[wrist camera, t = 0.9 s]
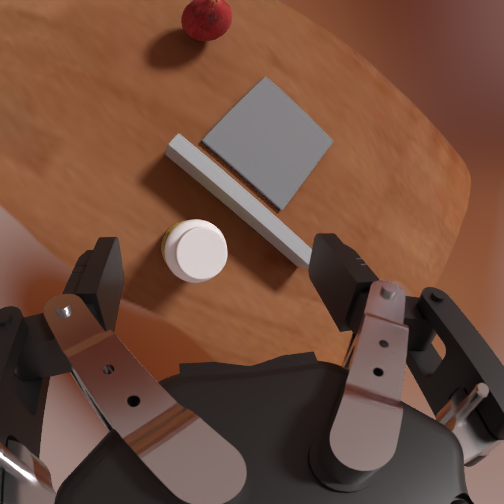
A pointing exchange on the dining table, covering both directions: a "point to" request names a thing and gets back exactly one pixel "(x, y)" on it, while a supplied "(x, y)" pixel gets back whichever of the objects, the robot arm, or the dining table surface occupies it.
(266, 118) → the slate mat
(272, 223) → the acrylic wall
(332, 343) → the dining table surface
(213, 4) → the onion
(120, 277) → the robot arm
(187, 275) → the supplement bottle
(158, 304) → the dining table surface
